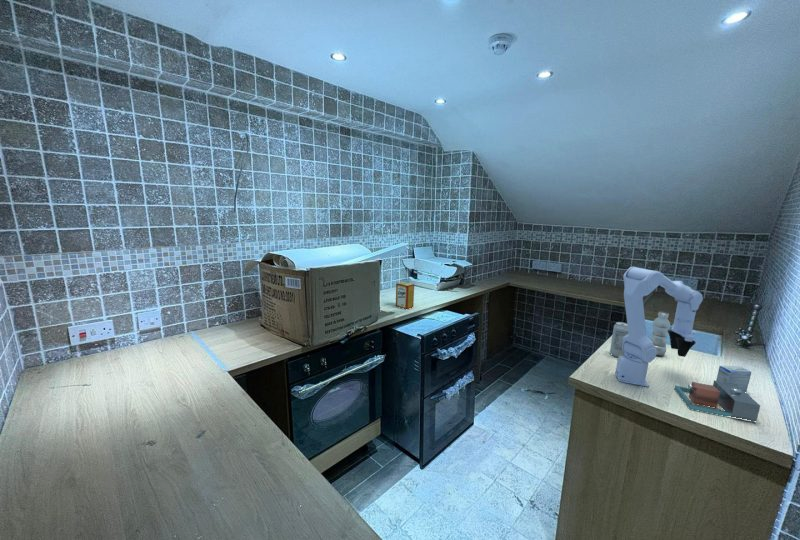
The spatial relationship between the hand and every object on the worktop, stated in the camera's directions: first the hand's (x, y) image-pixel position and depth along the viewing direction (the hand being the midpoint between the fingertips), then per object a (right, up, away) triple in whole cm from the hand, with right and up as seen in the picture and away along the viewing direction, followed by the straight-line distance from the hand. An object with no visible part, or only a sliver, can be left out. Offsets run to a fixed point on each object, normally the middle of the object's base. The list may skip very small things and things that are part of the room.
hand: (677, 352), depth 131 cm
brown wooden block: (-6, -13, -17) cm, 22 cm away
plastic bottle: (+8, -7, +22) cm, 24 cm away
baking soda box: (-107, +8, +83) cm, 136 cm away
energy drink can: (-11, -6, +19) cm, 23 cm away
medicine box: (+13, -12, -8) cm, 19 cm away
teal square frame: (-4, -13, -18) cm, 23 cm away
